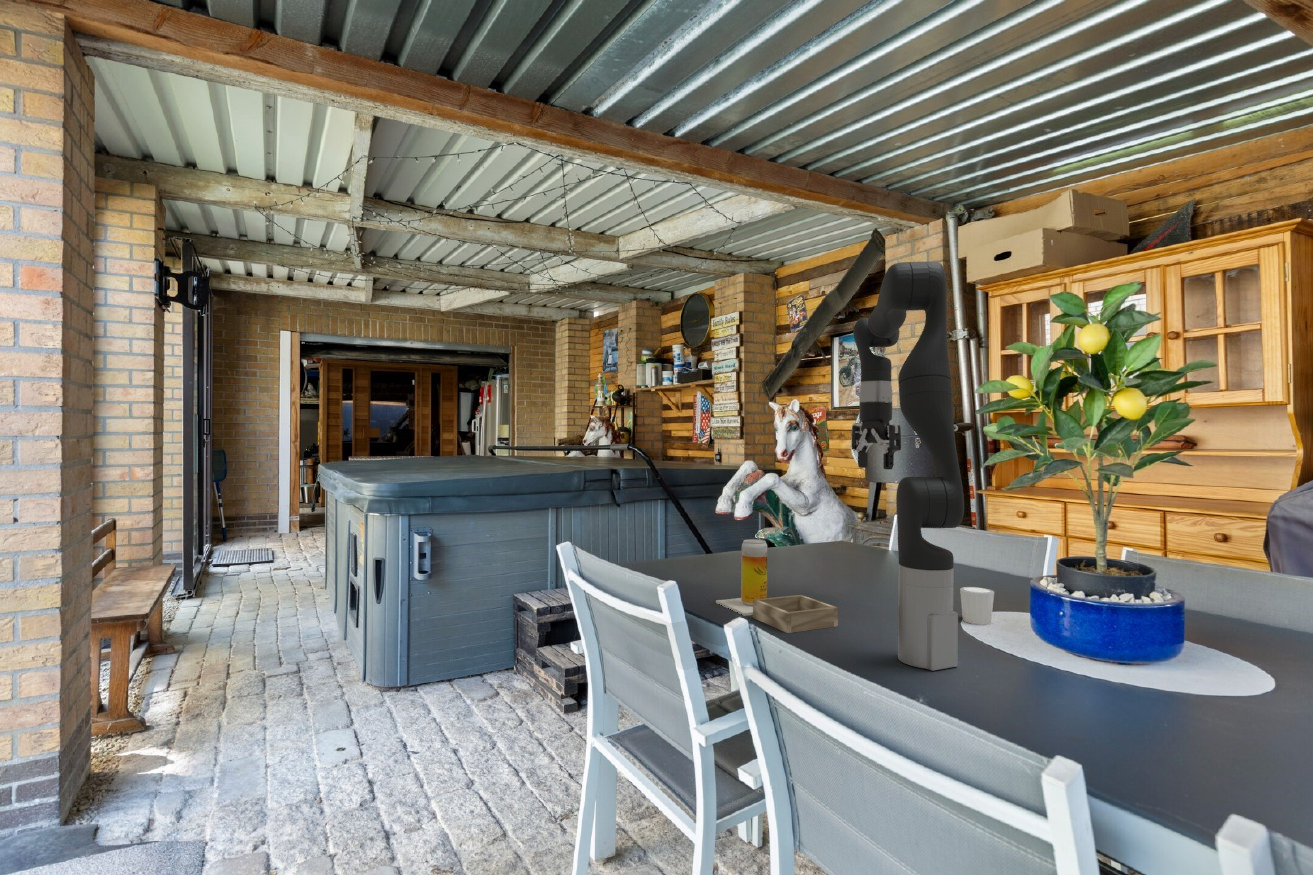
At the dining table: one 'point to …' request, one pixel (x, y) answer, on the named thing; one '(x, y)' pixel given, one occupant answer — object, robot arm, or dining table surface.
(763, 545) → the beer can
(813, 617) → the crate
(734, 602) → the mat
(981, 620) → the white cup
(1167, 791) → the dining table surface
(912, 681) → the dining table surface
